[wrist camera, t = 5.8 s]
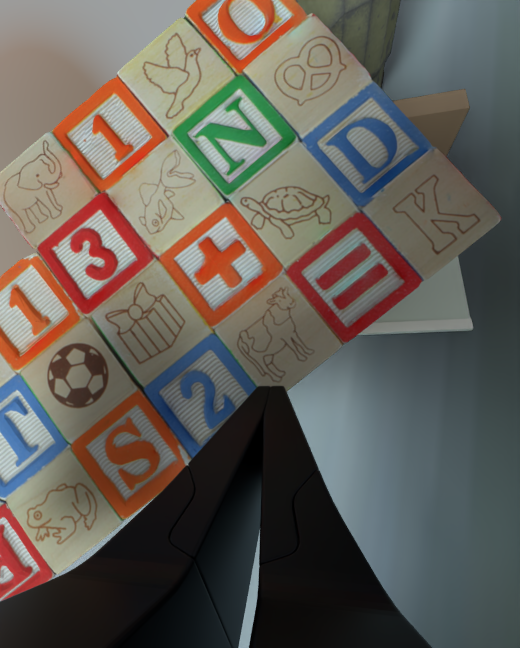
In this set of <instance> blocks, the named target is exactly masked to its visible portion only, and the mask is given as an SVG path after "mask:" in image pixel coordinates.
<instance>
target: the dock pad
mask: <svg viewBox="0 0 520 648" xmlns="http://www.w3.org/2000/svg"><path fill="white" fill-rule="evenodd" d="M392 102H393V103H394V104H395V105H396V106H397V107H398V108H399V109H400V110H401V111H402V112H403V114H404V115H405V116H406V117H407V118H408V119H409V120H410V121H411V122H412V123H413V124H414V125H415V126H416V127H417V128H418V129H419V130H420V132H421V133H422V134H423V135H424V136H425V137H426V138H427V140H428V141H429V142H430V143H431V145H432V147H437V148H438V150H439V151H440V152H441V153H443V154H444V155H445V156H447V154H448V152H449V150H450V148H451V146H452V144H453V142H454V140H455V138H456V135H457V133H458V131H459V129H460V127H461V125H462V123H463V121H464V119H465V117H466V115H467V113H468V110H469V108H470V106H469V102H468V98H467V94H466V90H465V89H461V90H455V91H449V92H443V93H437V94H432V95H426V96H420V97H414V98H408V99H402V100H396V101H392ZM471 330H473V324H472V319H471V318H470V314H469V309H468V304H467V299H466V294H465V289H464V284H463V279H462V274H461V269H460V264H459V259H458V256H457V257H455V258H454V259H453V260H452V261H450V262H449V263H448V264H447V265H445V266H444V267H443V268H442V269H440V270H439V271H438V272H437V273H435V274H434V275H433V276H431V277H430V278H429V279H427V280H425V281H423V282H421V284H420V285H419V287H418V288H416V289H415V290H414V291H413V292H411V293H410V294H409V295H408V296H406V297H405V298H404V299H403V300H401V301H400V302H399V303H398V304H396V305H395V306H394V307H393V308H391V309H390V310H389V311H387V312H386V313H385V314H384V315H382V316H381V317H380V318H379V319H377V320H376V321H375V322H373V323H372V324H371V325H370V326H368V327H367V328H366V329H365V330H363V331H362V332H361V333H359V334H358V335H373V334H399V333H424V332H449V331H471Z"/></svg>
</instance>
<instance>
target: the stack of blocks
mask: <svg viewBox="0 0 520 648" xmlns="http://www.w3.org/2000/svg"><path fill="white" fill-rule="evenodd" d="M0 206H1V207H2V209H3V210H4V211H5V212H6V213H7V215H8V216H9V218H10V219H11V220H12V221H13V223H14V224H15V226H16V227H17V228H18V230H19V232H20V233H21V234H22V236H23V237H24V239H25V240H26V241H27V242H28V244H29V245H30V246H31V247H32V248H34V249H36V250H37V253H34V254H31V255H29V256H27V257H25V258H23V259H21V260H20V261H19V262H17V263H16V264H15V265H14V266H13V267H11V268H10V269H9V270H8V271H7V272H5V273H4V274H3V275H2V276H0V601H2V600H5V599H7V598H9V597H12V596H14V595H16V594H19V593H21V592H24V591H26V590H28V589H31V588H33V587H35V586H38V585H40V584H43V583H45V582H47V581H50V580H51V579H52V578H53V577H54V576H55V575H56V574H59V573H61V572H62V571H63V570H65V569H66V568H67V567H69V566H70V565H71V564H72V563H74V562H75V561H76V560H77V559H79V558H80V557H81V556H82V555H83V554H85V553H86V552H87V551H89V550H90V549H91V548H92V547H94V546H95V545H96V544H98V543H99V542H100V541H101V540H102V539H104V538H105V537H106V536H107V535H109V534H110V533H111V532H112V531H113V530H115V529H116V528H117V527H118V526H119V525H121V524H122V523H123V522H124V521H125V520H126V519H127V518H129V517H131V516H132V515H133V514H134V513H136V512H137V511H138V510H139V509H141V508H142V507H143V506H144V505H146V504H147V503H148V502H150V501H151V500H152V499H153V498H155V497H156V496H157V495H158V494H159V493H161V492H162V491H163V490H164V488H165V487H166V486H167V485H168V484H169V483H170V482H171V481H172V480H173V479H174V478H175V477H176V476H177V475H178V474H179V473H180V471H181V470H182V469H183V468H184V467H185V466H186V465H188V463H189V462H190V461H191V459H192V458H193V457H194V456H195V455H196V454H197V453H198V452H199V451H200V449H201V448H202V447H203V446H204V445H205V444H206V443H207V442H208V441H209V439H210V438H211V437H212V436H213V435H214V434H215V433H216V432H217V431H218V430H219V428H220V427H221V426H222V425H223V424H224V423H225V422H226V421H227V420H228V418H229V417H230V416H231V415H232V414H233V413H234V412H235V411H236V410H237V409H238V407H239V406H240V405H241V404H242V403H243V402H244V401H245V400H246V399H247V397H248V396H249V395H250V394H251V393H252V392H253V391H254V390H255V389H256V388H257V387H258V386H284V387H285V389H286V392H287V391H288V390H289V389H290V388H292V387H293V386H294V385H295V384H297V383H298V382H299V381H300V380H302V379H303V378H304V377H305V376H307V375H308V374H309V373H310V372H312V371H313V370H314V369H315V368H317V367H318V366H319V365H320V364H322V363H323V362H324V361H325V360H327V359H328V358H329V357H330V356H332V355H333V354H334V353H335V352H336V351H338V350H339V349H340V348H341V347H342V346H343V344H345V343H347V342H349V341H350V340H351V339H353V338H354V337H355V336H357V335H358V334H359V333H361V332H362V331H363V330H365V329H366V328H367V327H368V326H370V325H371V324H372V323H373V322H375V321H376V320H377V319H379V318H380V317H381V316H382V315H384V314H385V313H386V312H387V311H389V310H390V309H391V308H393V307H394V306H395V305H396V304H398V303H399V302H400V301H401V300H403V299H404V298H405V297H406V296H408V295H409V294H410V293H411V292H413V291H414V290H415V289H416V288H418V287H419V285H420V284H421V282H423V281H425V280H427V279H429V278H430V277H431V276H433V275H434V274H435V273H437V272H438V271H439V270H440V269H442V268H443V267H444V266H445V265H447V264H448V263H449V262H450V261H452V260H453V259H454V258H455V257H457V256H458V255H459V254H461V253H462V252H463V251H464V250H466V249H467V248H468V247H469V246H471V245H472V244H473V243H474V242H476V241H477V240H478V239H479V238H481V237H482V236H483V235H484V234H486V233H487V232H488V231H489V230H491V229H492V228H493V227H494V226H495V225H497V224H498V223H499V222H500V220H501V219H502V218H501V216H500V215H499V213H498V212H497V210H496V209H495V208H494V207H493V206H492V205H491V204H490V203H489V202H488V201H487V200H486V199H485V198H484V197H483V196H482V194H481V193H480V192H479V191H478V190H477V189H476V188H475V187H474V186H473V185H472V184H471V183H470V182H469V181H468V180H467V179H466V178H465V177H464V176H463V174H462V173H461V172H460V171H459V170H458V169H457V168H456V167H455V166H454V165H453V164H452V163H451V161H450V160H449V159H448V158H447V157H446V156H445V155H444V154H443V153H441V152H440V151H439V150H438V148H437V147H432V145H431V143H430V142H429V141H428V140H427V138H426V137H425V136H424V135H423V134H422V133H421V132H420V130H419V129H418V128H417V127H416V126H415V125H414V124H413V123H412V122H411V121H410V120H409V119H408V118H407V117H406V116H405V115H404V114H403V112H402V111H401V110H400V109H399V108H398V107H397V106H396V105H395V104H394V103H393V102H392V100H391V99H390V98H389V97H388V96H387V95H386V94H385V92H384V91H383V90H382V89H381V88H380V87H379V86H378V85H377V83H375V82H374V81H373V80H372V79H371V76H370V73H369V72H368V71H367V70H366V69H365V67H364V66H363V65H361V64H360V63H359V62H358V60H357V59H356V57H355V56H354V54H352V53H351V52H350V51H348V49H347V48H346V47H345V46H344V45H343V43H342V42H341V41H340V40H339V39H338V38H337V37H336V36H335V35H334V34H333V33H332V32H331V31H330V29H329V28H328V27H327V26H325V25H324V24H323V23H322V22H321V21H320V19H319V18H318V17H317V16H316V15H315V14H313V13H311V14H309V15H307V14H306V13H305V11H304V10H303V8H302V7H301V6H300V5H299V4H298V3H297V2H296V0H196V1H195V2H194V3H193V4H192V5H191V6H190V7H189V8H188V9H187V11H186V13H185V18H180V19H178V20H176V22H175V23H173V24H172V25H171V26H170V27H169V28H167V29H166V30H165V31H164V32H163V33H162V34H160V35H159V36H158V37H157V38H156V39H155V40H153V41H152V42H151V43H150V44H149V45H148V46H147V47H145V48H144V49H143V50H142V51H141V52H140V53H139V54H138V55H137V56H135V57H134V58H133V59H132V60H131V61H129V62H128V63H127V64H126V65H125V66H124V67H123V68H121V69H120V70H119V71H118V73H117V77H116V78H114V79H112V80H110V81H109V82H107V83H106V84H105V85H103V86H102V87H101V88H100V89H99V90H97V91H96V92H95V93H94V94H93V95H92V96H91V97H90V98H89V99H88V100H86V101H85V102H84V103H82V104H81V105H80V106H79V107H78V108H76V109H75V110H74V111H73V112H72V113H70V114H69V115H68V116H67V117H66V118H65V119H64V120H63V121H62V122H61V123H59V124H58V126H57V127H55V128H54V130H53V131H52V132H48V133H46V134H45V135H43V136H42V137H41V138H40V139H39V140H37V141H36V142H35V143H34V144H33V145H32V146H30V147H29V148H28V149H27V150H26V151H25V152H23V153H22V154H21V155H20V156H19V157H18V158H17V159H15V160H14V161H13V162H12V163H10V164H9V165H8V166H7V167H6V168H5V169H4V170H2V171H1V172H0Z"/></svg>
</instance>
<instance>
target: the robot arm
mask: <svg viewBox="0 0 520 648" xmlns="http://www.w3.org/2000/svg"><path fill="white" fill-rule="evenodd" d="M259 530H260V556H259V565H260V568H259V586H258V598H257V605H256V610H255V616H254V622H253V628H252V633H251V639H250V645H249V648H432V647H431V646H430V645H429V644H428V643H427V641H426V640H425V639H424V638H423V637H422V636H421V635H420V634H419V633H418V632H417V630H416V629H415V628H414V627H413V626H412V625H411V624H410V623H409V622H408V621H407V619H406V618H405V617H404V616H403V615H402V614H401V613H400V611H399V610H398V609H397V607H396V606H395V605H394V603H393V602H392V600H391V599H390V597H389V596H388V594H387V593H386V591H385V590H384V588H383V587H382V585H381V584H380V582H379V580H378V579H377V577H376V575H375V574H374V572H373V570H372V569H371V567H370V565H369V563H368V562H367V560H366V558H365V557H364V555H363V553H362V551H361V550H360V548H359V546H358V545H357V543H356V541H355V540H354V538H353V536H352V534H351V533H350V531H349V529H348V528H347V526H346V524H345V522H344V521H343V519H342V517H341V515H340V513H339V511H338V509H337V508H336V506H335V504H334V502H333V500H332V498H331V496H330V494H329V491H328V489H327V487H326V485H325V483H324V480H323V478H322V475H321V473H320V471H319V469H318V466H317V464H316V461H315V459H314V457H313V454H312V452H311V449H310V447H309V445H308V442H307V440H306V437H305V435H304V433H303V430H302V428H301V425H300V423H299V421H298V418H297V416H296V413H295V411H294V409H293V406H292V404H291V401H290V399H289V397H288V394H287V392H286V389H285V387H284V386H258V387H257V388H256V389H255V390H254V391H253V392H252V393H251V394H250V395H249V396H248V397H247V399H246V400H245V401H244V402H243V403H242V404H241V405H240V406H239V407H238V409H237V410H236V411H235V412H234V413H233V414H232V415H231V416H230V417H229V418H228V420H227V421H226V422H225V423H224V424H223V425H222V426H221V427H220V428H219V430H218V431H217V432H216V433H215V434H214V435H213V436H212V437H211V438H210V439H209V441H208V442H207V443H206V444H205V445H204V446H203V447H202V448H201V449H200V451H199V452H198V453H197V454H196V455H195V456H194V457H193V458H192V459H191V461H190V462H189V463H188V465H186V466H185V467H184V468H183V469H182V470H181V471H180V473H179V474H178V475H177V476H176V477H175V478H174V479H173V480H172V481H171V482H170V483H169V484H168V485H167V486H166V487H165V488H164V490H163V491H162V492H161V493H159V494H158V495H157V496H156V497H155V498H154V499H153V500H152V501H151V502H150V503H149V504H148V505H147V506H146V507H145V508H144V509H143V510H142V511H141V512H140V513H138V514H137V515H136V516H135V517H134V518H133V519H132V520H131V521H130V522H129V523H128V524H127V525H125V526H124V527H123V528H122V529H121V530H120V531H119V532H118V533H117V534H116V535H115V536H114V537H112V538H111V539H110V540H109V541H108V542H107V543H106V544H105V545H104V546H103V547H102V548H101V549H99V550H98V551H97V552H96V553H95V554H94V555H92V556H91V557H90V558H89V559H87V560H86V561H85V562H83V563H82V564H80V565H79V566H77V567H76V568H74V569H73V570H71V571H69V572H67V573H65V574H63V575H61V576H59V577H57V578H54V579H52V580H50V581H47V582H45V583H43V584H40V585H38V586H35V587H33V588H31V589H28V590H26V591H24V592H21V593H19V594H16V595H14V596H12V597H9V598H7V599H5V600H2V601H0V648H238V646H239V640H240V635H241V629H242V624H243V618H244V613H245V607H246V602H247V596H248V591H249V585H250V580H251V574H252V569H253V563H254V558H255V552H256V547H257V541H258V536H259Z"/></svg>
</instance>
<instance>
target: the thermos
mask: <svg viewBox="0 0 520 648" xmlns="http://www.w3.org/2000/svg"><path fill="white" fill-rule="evenodd" d="M400 1H401V0H296V2H297V3H298V4H299V5H300V6H301V7H302V8H303V10H304V11H305V13H306V14H307V15H309V14H311V13H313V14H315V15H316V16H317V17H318V18H319V19H320V21H321V22H322V23H323V24H324V25H325V26H327V27H328V28H329V29H330V31H331V32H332V33H333V34H334V35H335V36H336V37H337V38H338V39H339V40H340V41H341V42H342V43H343V45H344V46H345V47H346V48H347V49H348V51H350V52H351V53H352V54H354V56H355V57H356V59H357V60H358V62H359V63H360V64H361V65H363V66H364V67H365V69H366V70H367V71H368V72H369V73H370V76H371V79H372V80H373V81H374V82H375V83H377V85H378V86H379V87H380V88H381V87H382V82H383V77H384V64H385V62H386V60H387V58H388V57H389V55H390V53H391V48H392V42H393V37H394V32H395V27H396V21H397V16H398V11H399V6H400Z"/></svg>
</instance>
